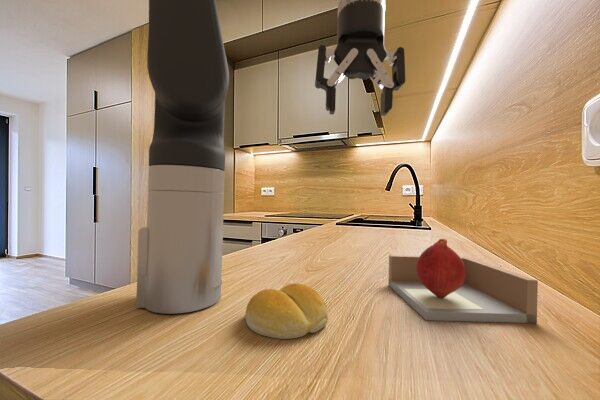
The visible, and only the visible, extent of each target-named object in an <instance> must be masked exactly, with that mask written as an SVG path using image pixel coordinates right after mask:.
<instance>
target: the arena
mask: <svg viewBox="0 0 600 400" xmlns="http://www.w3.org/2000/svg"><path fill="white" fill-rule="evenodd" d="M419 257H420V255H408V254H406V255H404V254H389V255H388V278H387V279H388V284H387V285H388V287H390V288H391V289H392V290H393V291H394V292H395V293H397V295H398V296H400V297H401V298H402V299H403V300H404V301H405V302H406V303H407V304H408V305H409V306H410V307H411V308H412V309H414V311H416V312H417V313H418V314H419V315H420V316H421V317H422V319H424V320H425V321H443V322H444V321H445V322H478V323H479V322H480V323H481V322H482V323H512V324H513V323H514V324H517V323H519V324H537V322H538V321H537V320H538V294H539V293H538V285H539V284H538V283H539V282H538V281H539V280H537V279H534V278H532V277H529V276H526V275H522V274H520V273H517V272H513V271H510V270H507V269H505V268H502V267H498V266H495V265H492V264H489V263H487V262H483V261H481V260H477V259H474V258H472V257H468V256H459V257H460V258H461V260H462V261H463V264H464V266H465V271H466V275H465V281H464V283H463V284H462V286H461V287H460V288H459V289H457V290H456V291H454V292H452V293H450V294H449V295H447V296H446V297H445V298H439V297H437V296H436V295H434V294H433V293H432V292H431V291H429V290H428V289H427V288H426V287H425V286H424V285H423V284H422V283H421V282H420V280H419V278H418V276H417V272H416V265H417V261H418V259H419Z"/></svg>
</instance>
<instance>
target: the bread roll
mask: <svg viewBox="0 0 600 400" xmlns="http://www.w3.org/2000/svg"><path fill="white" fill-rule="evenodd" d="M244 317H245V322H246V324H247V327H248V328H249V329H250V330H251V331H253V332H255V333H256V334H258V335H260V336H264V337H269V338H272V339H279V340H280V339H281V340H289V339H298V338H301V337H304V336H305V335H307V334H308V333H311V334H313V333H316V332H318V331H320V330H321V329H323V328H324V327H325V326H326V325H327V323H328V321H329V313H328V309H327V305H326V303H325V301H324V299H323V297H322V296H321V295H320V293H319V292H318V291H316V290H315V289H314V288H313V287H311V286H308V285H306V284H302V283H289V284H286V285H284V286H283V287H282V288H281V289H274V288H269V289H267V288H266V289H263V290H260V291H258V292H256V293H255V294H254V295H253V296H252V297H251V298H250V300H249V301H248V303H247V305H246V309H245V315H244Z"/></svg>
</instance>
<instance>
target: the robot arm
mask: <svg viewBox="0 0 600 400" xmlns="http://www.w3.org/2000/svg"><path fill="white" fill-rule="evenodd" d="M385 12H386V0H337V28H336V29H337V30H336V33H337V34H336V47H335V49H332V48H331V49H330V48H327V47H326V45H324V44H320V45H319V46H318V52H317V59H316V69H315V79H314V80H315V81H314V86H315V88H316V89H321V90H324V92H325V110H326V111H327V112H328V111H329V115H335V113H336V112H335V111H336V100H337V99H336V97H337V88H336V87H337V86H338V85H339V84H340V83H341V82H342V81H343V80H344V78H345V77H346V78H348V80H355V79H361V80H363V81H364V80H368V79H370V80H371V82H372V83H373V84H374V85H375V86H377V87H378V88H379V90H380V91H381V93H380V106H379V107H380V108H379V109H380V111H379V112H380V116H381V117H385V116H387V115H388V113H389V112H390V111H391V110H392V109H393V102H394V101H393V98H394V95H393V94H394V93H393V92H394V91H396V92H397V91H399V90H400V89H401V88H402V87H403V86H404V84H405V83H406V60H405V59H406V58H405V49H404V47H401V46H400V47H397V49H396V50H387V49H386V47H385V21H386V20H385V19H386V17H385V15H386V13H385ZM221 29H222V28H221V25H220V17H219V12H218V6H217V0H148V34H147V54H146V55H147V57H146V61H147V62H146V63H147V64H146V67H147V73H148V78H149V82H150V83H151V86H152V88H153V91H154V118H153V121H154V123H153V134H152V140H151V143H150V145H149V149H148V167H147V168H148V172H147V174H148V176H147V204H146V205H147V206H146V208H147V209H146V226H145V227H141V228H139V230H138V235H137V237H138V239H137V240H138V241H137V243H138V244H137V266H136V267H137V268H136V269H137V270H136V271H137V272H136V299H135V302H136V303H135V308H141V309H146V310H147V311H150V312H152V313H156V314H157V313H158V314H167V315H170V314H171V315H172V314H173V315H174V314H183V313H184V314H186V313H191V312H195V311H200V310H203V309H206V308H208V307H211V306H213V305H215V304H217V303H218V302H219V301H220V299H221V298H222V297H221V296H222V286H223V285H222V284H223V283H222V281H223V280H222V273H223V272H222V271H223V247H224V246H223V240H224V238H223V237H224V211H225V209H224V208H225V207H224V205H225V179H226V178H225V170H226V151H225V116H226V115H225V113H226V99H227V95H228V90H229V85H230V71H229V66H228V60H227V55H226V54H227V53H226V50H225V45H224V39H223V35H222V30H221ZM331 59H333V60H334V62H335V63H336V65H337V67H336V69H335V71H334V72H333V73H332V75H331V76H330V77H329V78H326V77H325V66H326V65H328V64H330V61H331ZM385 61H387V63H388V66H389V67H391V77H390V76H389V74H388V70H387V68H386V67H385V65H384V64H383V63H384V62H385Z"/></svg>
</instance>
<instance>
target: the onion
mask: <svg viewBox="0 0 600 400" xmlns="http://www.w3.org/2000/svg"><path fill="white" fill-rule="evenodd" d="M419 256H420V257H419V259H418V261H417V265H416V272H417V276H418V278H419V280H420V282H421V283H422V284H423V285H424V286H425V287H426V288H427V289H428V290H429V291H431V292H432V293H433V294H434V295H436V296H437V297H439V298H445V297H446V296H447V295H449V294H450V293H452V292H454V291H456V290H457V289H459V288H460V287H461V286H462V284H463V283H464V281H465V275H466V271H465V266H464V264H463V261H462V260H461V258H460V257H461V256H459V254H458V253H457V252H456V251H454V249H452V248H450V246H448V240H447V239H446V238H444V237H443V238H439V239H438V240H437V241H436V242H434V244H432V245H430V246H428V247H427V248H425V249H424V251H423V252H422V253H421V254H420V255H419Z"/></svg>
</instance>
